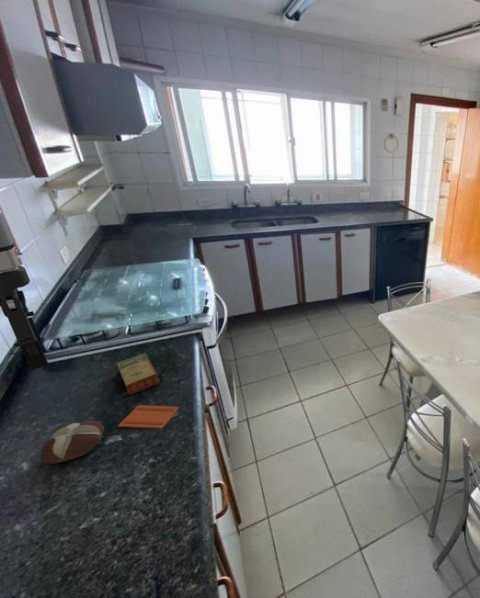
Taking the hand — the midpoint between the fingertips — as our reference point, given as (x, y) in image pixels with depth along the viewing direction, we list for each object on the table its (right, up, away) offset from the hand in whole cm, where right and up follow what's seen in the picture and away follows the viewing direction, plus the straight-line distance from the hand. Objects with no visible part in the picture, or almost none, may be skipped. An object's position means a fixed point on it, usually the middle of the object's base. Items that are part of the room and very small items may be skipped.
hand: (37, 354), depth 77 cm
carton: (0, -13, +31) cm, 34 cm away
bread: (+3, -25, +7) cm, 26 cm away
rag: (+14, -21, +17) cm, 30 cm away
